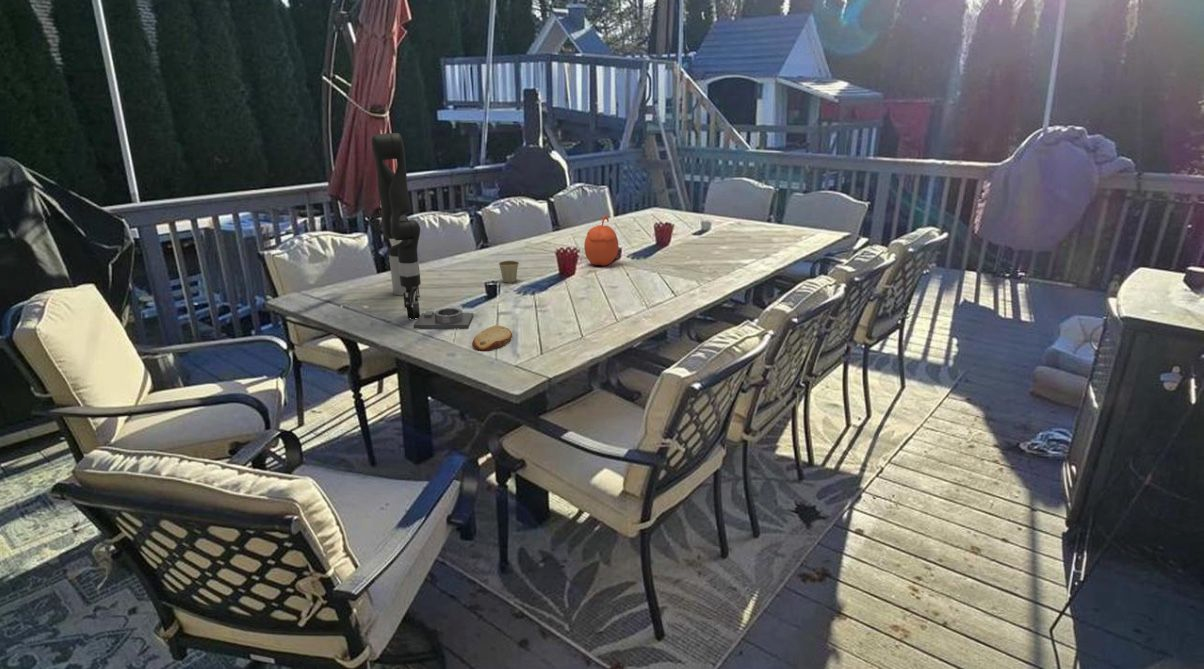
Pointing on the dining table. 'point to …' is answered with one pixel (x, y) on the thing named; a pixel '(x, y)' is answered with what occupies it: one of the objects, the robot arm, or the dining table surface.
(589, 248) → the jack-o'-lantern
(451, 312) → the grey thick ring
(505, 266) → the flower pot
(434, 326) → the camera plate
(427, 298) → the dining table surface
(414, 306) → the domed grey cylinder
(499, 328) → the slice of bread
